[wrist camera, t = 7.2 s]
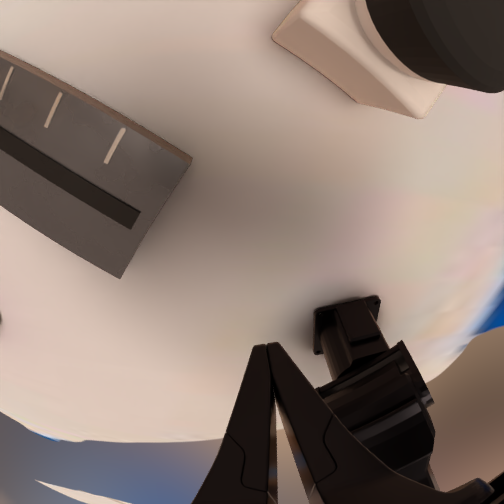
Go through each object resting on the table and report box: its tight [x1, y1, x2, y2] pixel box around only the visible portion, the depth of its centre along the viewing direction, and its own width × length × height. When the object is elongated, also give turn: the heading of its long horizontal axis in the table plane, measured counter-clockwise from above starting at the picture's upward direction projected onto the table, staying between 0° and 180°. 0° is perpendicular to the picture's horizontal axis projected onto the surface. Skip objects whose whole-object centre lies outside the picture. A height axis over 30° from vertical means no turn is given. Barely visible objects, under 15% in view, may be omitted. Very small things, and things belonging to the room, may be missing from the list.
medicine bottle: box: [272, 0, 504, 119], centre depth 9 cm, size 7×7×12 cm
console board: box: [0, 50, 192, 279], centre depth 14 cm, size 21×10×2 cm, turn 52°
